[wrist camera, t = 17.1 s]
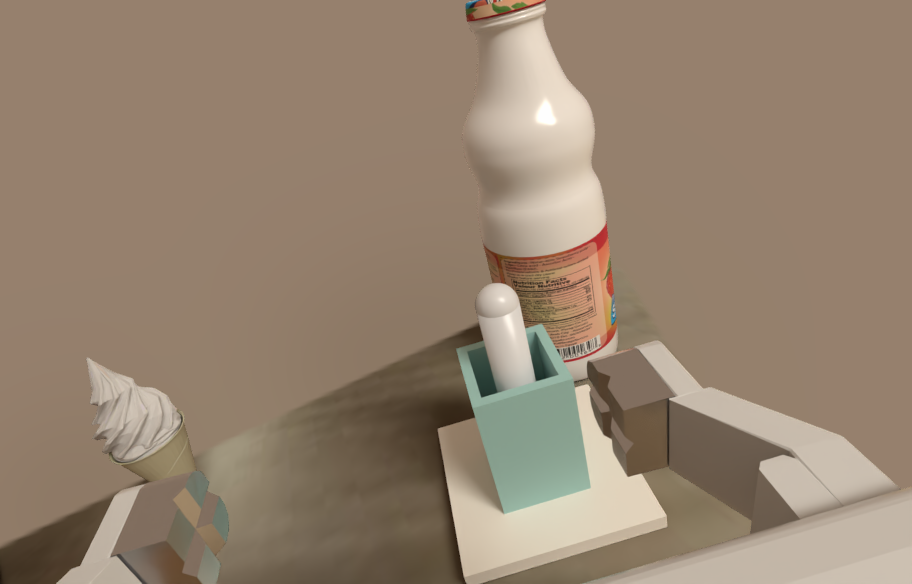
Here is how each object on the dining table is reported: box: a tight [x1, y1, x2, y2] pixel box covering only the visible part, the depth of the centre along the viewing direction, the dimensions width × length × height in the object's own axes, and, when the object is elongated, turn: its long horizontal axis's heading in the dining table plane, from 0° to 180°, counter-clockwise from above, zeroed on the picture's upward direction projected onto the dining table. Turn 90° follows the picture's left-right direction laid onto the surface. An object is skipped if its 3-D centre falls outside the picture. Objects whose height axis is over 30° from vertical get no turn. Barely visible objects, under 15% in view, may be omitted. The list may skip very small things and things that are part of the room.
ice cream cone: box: [86, 358, 197, 482], centre depth 36 cm, size 5×5×15 cm
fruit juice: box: [462, 0, 618, 382], centre depth 39 cm, size 9×9×28 cm
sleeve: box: [456, 324, 591, 514], centre depth 33 cm, size 6×6×9 cm
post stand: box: [438, 283, 667, 584], centre depth 32 cm, size 12×12×15 cm
